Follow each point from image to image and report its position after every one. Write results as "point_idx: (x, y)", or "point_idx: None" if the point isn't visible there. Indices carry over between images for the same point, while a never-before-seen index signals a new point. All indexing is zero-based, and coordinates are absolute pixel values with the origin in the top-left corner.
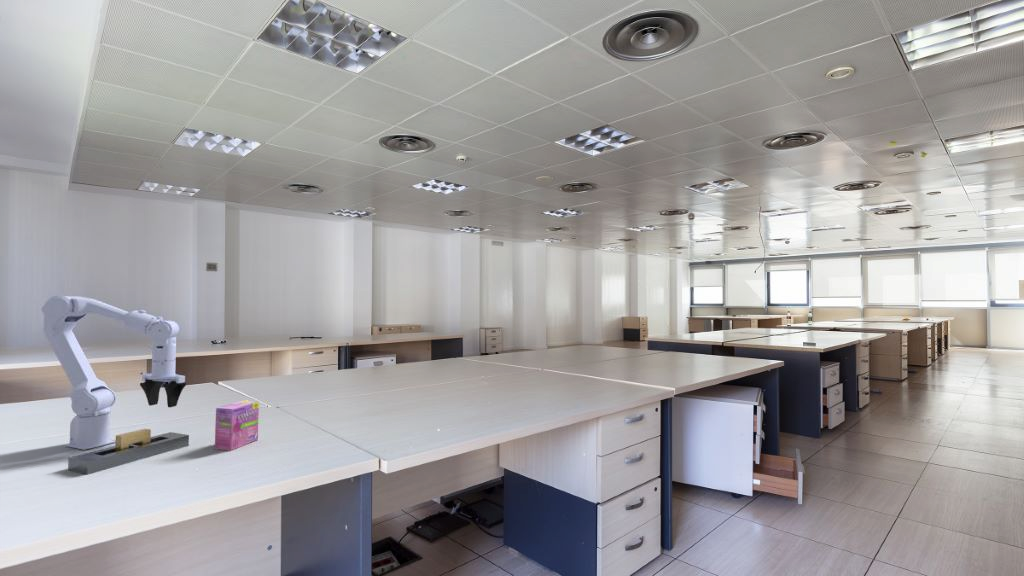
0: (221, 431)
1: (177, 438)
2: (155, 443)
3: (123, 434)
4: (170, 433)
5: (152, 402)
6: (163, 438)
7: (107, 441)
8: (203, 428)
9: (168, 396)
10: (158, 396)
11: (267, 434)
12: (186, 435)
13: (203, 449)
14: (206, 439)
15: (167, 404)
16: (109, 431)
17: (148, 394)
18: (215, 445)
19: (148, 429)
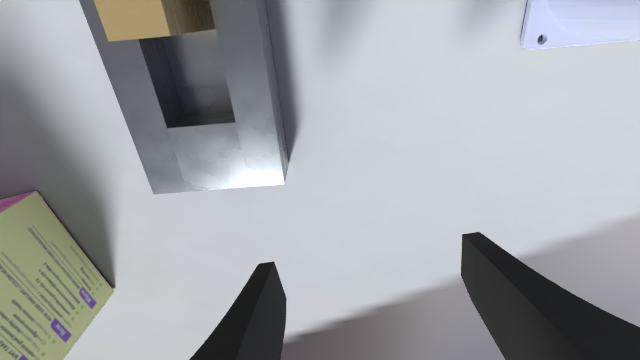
0: None
1: (136, 144)
2: (101, 37)
3: None
4: (257, 171)
5: (472, 262)
6: (215, 121)
7: (550, 7)
8: (372, 299)
9: (225, 332)
10: (491, 333)
11: (110, 338)
12: (155, 186)
13: (68, 171)
14: (210, 239)
15: (268, 273)
16: (599, 24)
17: (523, 299)
18: (19, 198)
19: (120, 33)
